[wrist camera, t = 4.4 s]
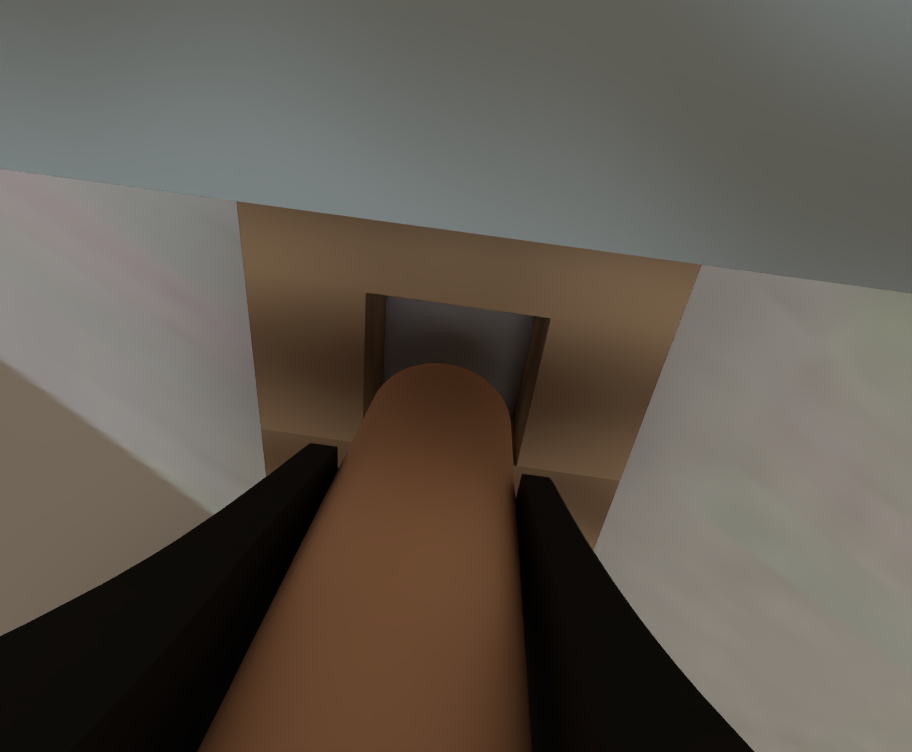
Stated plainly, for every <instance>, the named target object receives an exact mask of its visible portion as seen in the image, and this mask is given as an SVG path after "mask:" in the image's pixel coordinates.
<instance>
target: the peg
mask: <svg viewBox="0 0 912 752" xmlns="http://www.w3.org/2000/svg"><path fill="white" fill-rule="evenodd" d="M197 752H532V744H531V729H530V713H529V698H528V682H527V667H526V651H525V636H524V620H523V605H522V589H521V574H520V558H519V543H518V527H517V512H516V496H515V480H514V465H513V449H512V434H511V420H510V415H509V411H508V408H507V406H506V404H505V402H504V400H503V398H502V397H501V395H500V394H499V392H498V391H497V390H496V389H495V388H494V387H493V386H492V385H491V384H490V383H489V382H488V381H487V380H485V379H484V378H483V377H481V376H480V375H478V374H476V373H474V372H473V371H470V370H468V369H465V368H463V367H459V366H456V365H451V364H445V363H426V364H420V365H415V366H412V367H409V368H406V369H404V370H402V371H400V372H398V373H396V374H395V375H393V376H392V377H390V378H389V379H388V380H387V381H386V382H385V383H384V384H383V385H382V386H381V387H380V388H379V390H378V391H377V393H376V395H375V396H374V398H373V400H372V402H371V404H370V406H369V408H368V410H367V412H366V414H365V416H364V418H363V420H362V422H361V424H360V426H359V428H358V430H357V432H356V434H355V436H354V438H353V440H352V442H351V444H350V446H349V448H348V450H347V452H346V454H345V456H344V458H343V461H342V463H341V465H340V467H339V469H338V471H337V473H336V475H335V477H334V479H333V481H332V483H331V485H330V487H329V489H328V491H327V493H326V495H325V497H324V499H323V501H322V503H321V505H320V507H319V509H318V511H317V513H316V515H315V517H314V519H313V521H312V523H311V525H310V527H309V529H308V531H307V533H306V535H305V537H304V539H303V541H302V543H301V545H300V547H299V549H298V551H297V553H296V555H295V557H294V559H293V561H292V563H291V565H290V567H289V569H288V571H287V573H286V575H285V577H284V579H283V581H282V583H281V585H280V587H279V589H278V591H277V593H276V595H275V597H274V599H273V601H272V603H271V605H270V607H269V609H268V611H267V613H266V615H265V617H264V619H263V621H262V623H261V625H260V627H259V629H258V631H257V633H256V635H255V637H254V639H253V641H252V643H251V645H250V647H249V649H248V651H247V653H246V655H245V657H244V659H243V661H242V663H241V665H240V667H239V669H238V671H237V673H236V675H235V677H234V679H233V681H232V683H231V685H230V687H229V689H228V691H227V693H226V695H225V697H224V699H223V701H222V703H221V705H220V707H219V709H218V711H217V713H216V715H215V717H214V719H213V721H212V723H211V725H210V727H209V729H208V731H207V733H206V735H205V737H204V739H203V741H202V743H201V745H200V747H199V749H198V751H197Z"/></svg>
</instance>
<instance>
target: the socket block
mask: <svg viewBox="0 0 912 752" xmlns="http://www.w3.org/2000/svg"><path fill="white" fill-rule="evenodd" d="M0 169H5V170H12V171H19V172H27V173H34V174H41V175H49V176H56V177H63V178H71V179H78V180H85V181H93V182H100V183H107V184H115V185H122V186H129V187H137V188H144V189H151V190H159V191H166V192H173V193H181V194H188V195H195V196H203V197H210V198H217V199H225V200H232V201H237V210H238V219H239V229H240V238H241V247H242V256H243V266H244V275H245V284H246V293H247V303H248V312H249V321H250V330H251V340H252V349H253V358H254V367H255V377H256V386H257V395H258V404H259V414H260V423H261V432H262V441H263V451H264V460H265V469H266V476H268V475H269V474H270V473H272V472H273V471H274V470H275V469H277V468H278V467H279V466H281V465H282V464H283V463H284V462H286V461H287V460H288V459H290V458H291V457H292V456H293V455H295V454H296V453H297V452H299V451H300V450H301V449H303V448H304V447H305V446H307V445H308V444H309V443H315V444H322V445H329V446H336V447H338V469H339V467H340V465H341V463H342V461H343V458H344V456H345V454H346V452H347V450H348V448H349V446H350V444H351V442H352V440H353V438H354V436H355V434H356V432H357V430H358V428H359V426H360V424H361V422H362V420H363V418H364V416H365V414H366V412H367V410H368V408H369V406H370V404H371V402H372V400H373V398H374V396H375V395H376V393H377V391H378V390H379V388H380V387H381V386H382V380H383V358H384V336H385V314H386V295H387V296H394V297H402V298H409V299H416V300H423V301H430V302H438V303H445V304H452V305H459V306H466V307H473V308H481V309H488V310H495V311H502V312H509V313H517V314H524V315H531V316H536V317H535V322H534V326H533V331H532V336H531V340H530V345H529V350H528V354H527V359H526V364H525V368H524V373H523V378H522V382H521V387H520V392H519V396H518V401H517V406H516V410H515V415H514V420H511V434H512V449H513V465H514V480H515V496H517V492H518V488H519V484H520V480H521V475H522V474H529V475H536V476H543V477H550V478H551V480H552V481H553V482H554V484H555V486H556V488H557V490H558V492H559V493H560V495H561V497H562V499H563V501H564V502H565V504H566V506H567V508H568V510H569V511H570V513H571V515H572V517H573V518H574V520H575V522H576V523H577V525H578V527H579V529H580V530H581V532H582V534H583V535H584V537H585V538H586V540H587V542H588V543H589V545H590V546H591V548H592V550H594V547H595V545H596V542H597V539H598V537H599V534H600V531H601V529H602V526H603V524H604V521H605V518H606V516H607V513H608V510H609V508H610V505H611V502H612V500H613V497H614V495H615V492H616V489H617V487H618V484H619V481H620V479H621V476H622V473H623V471H624V468H625V465H626V463H627V460H628V458H629V455H630V452H631V450H632V447H633V444H634V442H635V439H636V436H637V434H638V431H639V429H640V426H641V423H642V421H643V418H644V415H645V413H646V410H647V407H648V405H649V402H650V399H651V397H652V394H653V392H654V389H655V386H656V384H657V381H658V378H659V376H660V373H661V370H662V368H663V365H664V363H665V360H666V357H667V355H668V352H669V349H670V347H671V344H672V341H673V339H674V336H675V333H676V331H677V328H678V326H679V323H680V320H681V318H682V315H683V312H684V310H685V307H686V304H687V302H688V299H689V296H690V294H691V291H692V289H693V286H694V283H695V281H696V278H697V275H698V273H699V270H700V267H701V265H708V266H715V267H723V268H730V269H737V270H745V271H752V272H759V273H766V274H774V275H781V276H788V277H796V278H803V279H810V280H818V281H825V282H832V283H840V284H847V285H854V286H862V287H869V288H876V289H884V290H891V291H898V292H906V293H912V0H0Z"/></svg>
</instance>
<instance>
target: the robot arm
mask: <svg viewBox="0 0 912 752" xmlns="http://www.w3.org/2000/svg"><path fill="white" fill-rule="evenodd" d="M337 471H338V447H336V446H329V445H322V444H315V443H309V444H308V445H307V446H305V447H304V448H303V449H301V450H300V451H299V452H297V453H296V454H295V455H293V456H292V457H291V458H290V459H288V460H287V461H286V462H284V463H283V464H282V465H281V466H279V467H278V468H277V469H275V470H274V471H273V472H272V473H270V474H269V475H268V476H266V477H265V478H264V479H262V480H261V481H260V482H259V483H257V484H256V485H255V486H253V487H252V488H250V489H249V490H248V491H246V492H245V493H244V494H242V495H241V496H240V497H238V498H237V499H236V500H234V501H233V502H232V503H230V504H229V505H227V506H226V507H225V508H223V509H222V510H220V511H219V512H217V513H216V514H215V515H213V516H212V517H210V518H209V519H207V520H206V521H204V522H203V523H201V524H200V525H198V526H197V527H195V528H194V529H192V530H191V531H190V532H188V533H187V534H185V535H184V536H182V537H181V538H179V539H178V540H176V541H174V542H173V543H171V544H170V545H168V546H166V547H165V548H163V549H162V550H160V551H159V552H157V553H155V554H154V555H152V556H150V557H149V558H147V559H146V560H144V561H142V562H140V563H139V564H137V565H135V566H133V567H131V568H130V569H128V570H126V571H125V572H123V573H121V574H119V575H118V576H116V577H115V578H112V579H111V580H109V581H107V582H105V583H103V584H102V585H100V586H98V587H96V588H94V589H92V590H90V591H88V592H86V593H85V594H82V595H80V596H79V597H77V598H75V599H73V600H71V601H69V602H67V603H65V604H63V605H61V606H59V607H57V608H56V609H54V610H52V611H50V612H48V613H46V614H44V615H42V616H40V617H38V618H36V619H35V620H32V621H30V622H29V623H27V624H25V625H23V626H20V627H18V628H16V629H14V630H12V631H10V632H8V633H6V634H4V635H2V636H0V752H197V751H198V749H199V747H200V745H201V743H202V741H203V739H204V737H205V735H206V733H207V731H208V729H209V727H210V725H211V723H212V721H213V719H214V717H215V715H216V713H217V711H218V709H219V707H220V705H221V703H222V701H223V699H224V697H225V695H226V693H227V691H228V689H229V687H230V685H231V683H232V681H233V679H234V677H235V675H236V673H237V671H238V669H239V667H240V665H241V663H242V661H243V659H244V657H245V655H246V653H247V651H248V649H249V647H250V645H251V643H252V641H253V639H254V637H255V635H256V633H257V631H258V629H259V627H260V625H261V623H262V621H263V619H264V617H265V615H266V613H267V611H268V609H269V607H270V605H271V603H272V601H273V599H274V597H275V595H276V593H277V591H278V589H279V587H280V585H281V583H282V581H283V579H284V577H285V575H286V573H287V571H288V569H289V567H290V565H291V563H292V561H293V559H294V557H295V555H296V553H297V551H298V549H299V547H300V545H301V543H302V541H303V539H304V537H305V535H306V533H307V531H308V529H309V527H310V525H311V523H312V521H313V519H314V517H315V515H316V513H317V511H318V509H319V507H320V505H321V503H322V501H323V499H324V497H325V495H326V493H327V491H328V489H329V487H330V485H331V483H332V481H333V479H334V477H335V475H336V473H337ZM516 512H517V527H518V543H519V558H520V574H521V589H522V605H523V620H524V636H525V651H526V667H527V682H528V698H529V713H530V729H531V744H532V752H754V751H753V750H752V749H751V748H750V747H749V746H748V744H747V743H746V742H745V741H744V740H743V739H742V738H741V737H740V736H739V735H738V734H737V732H736V731H735V730H734V729H733V728H732V727H731V726H730V725H729V724H728V723H727V722H726V720H725V719H724V718H723V717H722V716H721V715H720V714H719V713H718V712H717V711H716V710H715V709H714V707H713V706H712V705H711V704H710V703H709V702H708V701H707V700H706V699H705V698H704V697H703V695H702V694H701V693H700V692H699V691H698V690H697V689H696V687H695V686H694V685H693V684H692V683H691V682H690V680H689V679H688V678H687V677H686V676H685V675H684V673H683V672H682V671H681V670H680V669H679V667H678V666H677V665H676V664H675V663H674V661H673V660H672V659H671V658H670V656H669V655H668V654H667V653H666V651H665V650H664V649H663V648H662V647H661V645H660V644H659V643H658V642H657V640H656V639H655V638H654V636H653V635H652V634H651V633H650V631H649V630H648V629H647V627H646V626H645V625H644V623H643V622H642V621H641V619H640V618H639V617H638V615H637V614H636V613H635V611H634V610H633V609H632V607H631V606H630V604H629V603H628V602H627V600H626V599H625V597H624V596H623V595H622V593H621V592H620V590H619V589H618V587H617V586H616V585H615V583H614V582H613V580H612V579H611V577H610V576H609V574H608V573H607V571H606V570H605V568H604V567H603V565H602V564H601V562H600V560H599V559H598V557H597V556H596V554H595V553H594V551H593V550H592V548H591V546H590V545H589V543H588V542H587V540H586V538H585V537H584V535H583V534H582V532H581V530H580V529H579V527H578V525H577V523H576V522H575V520H574V518H573V517H572V515H571V513H570V511H569V510H568V508H567V506H566V504H565V502H564V501H563V499H562V497H561V495H560V493H559V492H558V490H557V488H556V486H555V484H554V482H553V481H552V480H551V478H550V477H543V476H536V475H529V474H522V475H521V480H520V484H519V488H518V492H517V496H516Z"/></svg>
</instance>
